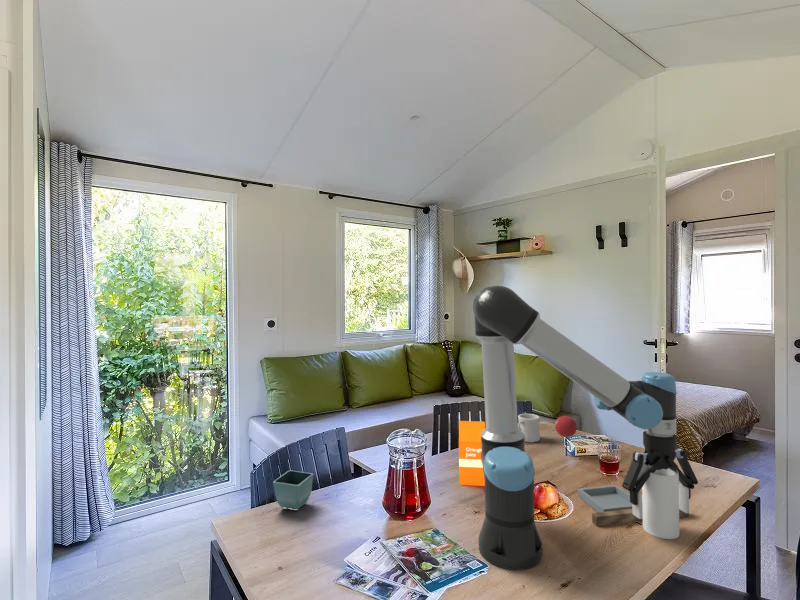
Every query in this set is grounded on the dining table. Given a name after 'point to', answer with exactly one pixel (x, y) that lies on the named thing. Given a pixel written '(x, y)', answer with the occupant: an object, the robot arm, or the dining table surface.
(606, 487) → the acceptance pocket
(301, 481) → the flower pot
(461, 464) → the orange juice
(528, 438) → the mug
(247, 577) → the dining table surface
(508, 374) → the robot arm
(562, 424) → the lollipop
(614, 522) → the door edge rail
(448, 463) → the dining table surface
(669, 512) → the cup
